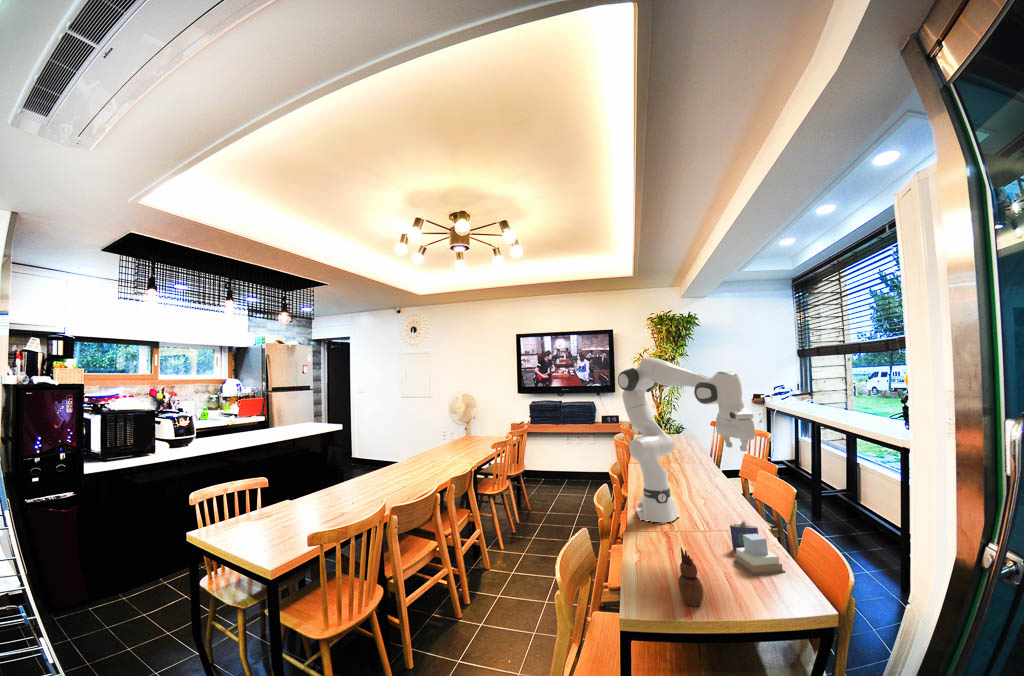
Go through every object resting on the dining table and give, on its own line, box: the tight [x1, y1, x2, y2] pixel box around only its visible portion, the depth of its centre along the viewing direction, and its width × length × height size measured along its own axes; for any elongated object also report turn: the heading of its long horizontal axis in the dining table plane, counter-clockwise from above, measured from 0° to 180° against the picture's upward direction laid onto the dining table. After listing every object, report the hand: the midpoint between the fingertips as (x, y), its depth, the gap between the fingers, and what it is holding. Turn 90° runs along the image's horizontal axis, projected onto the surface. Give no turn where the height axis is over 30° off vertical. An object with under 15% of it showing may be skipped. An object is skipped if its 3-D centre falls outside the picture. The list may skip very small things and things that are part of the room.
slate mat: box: [732, 559, 786, 576], centre depth 137 cm, size 11×11×1 cm
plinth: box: [734, 548, 784, 573], centre depth 137 cm, size 10×10×4 cm
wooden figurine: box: [678, 546, 704, 607], centre depth 118 cm, size 7×6×15 cm
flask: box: [729, 520, 760, 552], centre depth 150 cm, size 9×3×11 cm, turn 68°
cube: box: [743, 534, 769, 556], centre depth 138 cm, size 5×5×5 cm
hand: (736, 449), depth 155 cm, fingers open, 8 cm apart
